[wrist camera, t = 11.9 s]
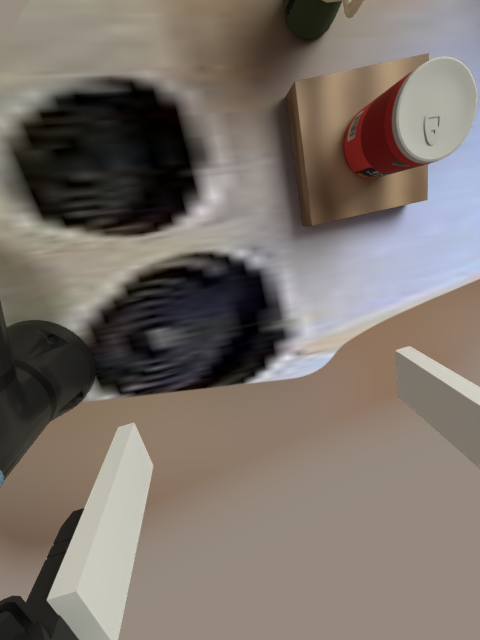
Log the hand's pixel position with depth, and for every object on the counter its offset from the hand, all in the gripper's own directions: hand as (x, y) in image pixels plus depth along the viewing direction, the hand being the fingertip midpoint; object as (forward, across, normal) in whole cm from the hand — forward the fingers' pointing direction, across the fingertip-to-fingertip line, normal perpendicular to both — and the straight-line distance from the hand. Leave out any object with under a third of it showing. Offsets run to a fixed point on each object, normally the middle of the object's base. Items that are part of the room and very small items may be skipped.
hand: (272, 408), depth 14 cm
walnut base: (+31, +21, +13) cm, 40 cm away
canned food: (+27, +22, +13) cm, 37 cm away
